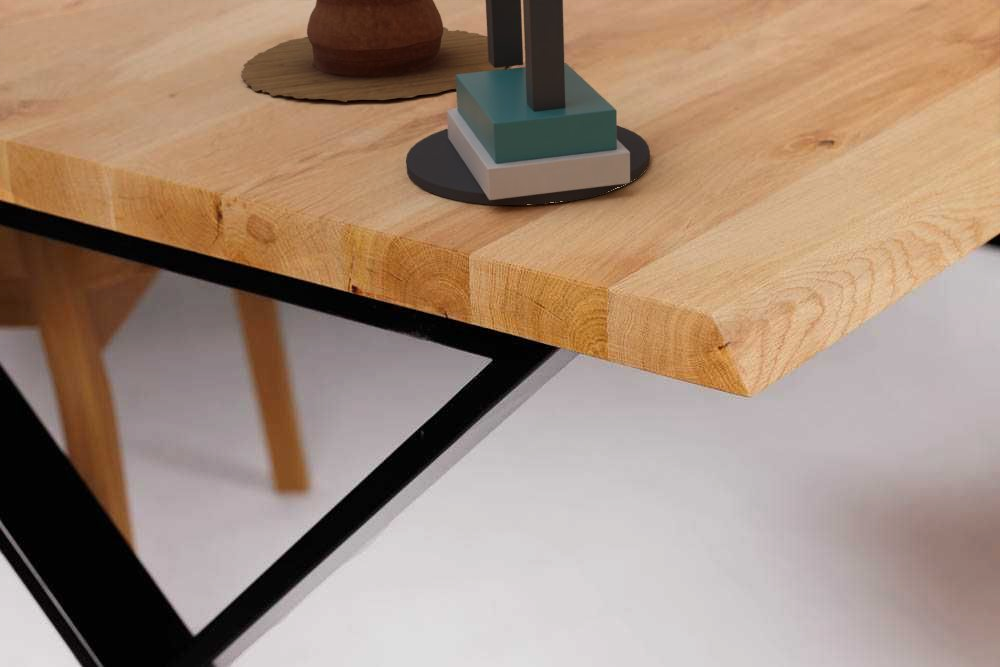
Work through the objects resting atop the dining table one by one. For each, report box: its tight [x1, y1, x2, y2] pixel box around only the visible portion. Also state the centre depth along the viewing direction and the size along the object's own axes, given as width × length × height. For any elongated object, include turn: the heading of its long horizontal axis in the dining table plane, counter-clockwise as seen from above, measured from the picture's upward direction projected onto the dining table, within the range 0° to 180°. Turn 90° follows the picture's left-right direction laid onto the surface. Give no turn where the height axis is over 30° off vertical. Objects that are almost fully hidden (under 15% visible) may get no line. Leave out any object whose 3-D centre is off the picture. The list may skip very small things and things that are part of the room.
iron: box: [446, 0, 631, 200], centre depth 72 cm, size 13×7×12 cm, turn 13°
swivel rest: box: [405, 125, 651, 206], centre depth 75 cm, size 13×13×1 cm
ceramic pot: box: [240, 0, 506, 103], centre depth 92 cm, size 18×18×7 cm
